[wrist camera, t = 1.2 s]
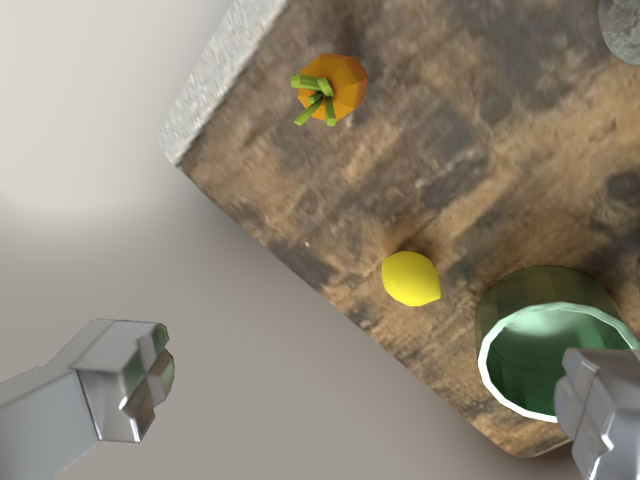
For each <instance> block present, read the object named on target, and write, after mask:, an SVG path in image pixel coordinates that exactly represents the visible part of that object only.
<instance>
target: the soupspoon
mask: <svg viewBox="0 0 640 480" xmlns="http://www.w3.org/2000/svg"><path fill="white" fill-rule="evenodd" d="M598 9H599V10H598V12H599V16H598V17H599V24H600V28H601V31H602V35H603V38H604V41H605V43H606V45H607V46H608V48H609V49H610V51H611V52H612V53H613V54H614V55H615V56H617V57H618V58H620V59H621V60H623V61H625V62H627V63H628V64H631V65H634V66H640V0H600V3H599V8H598Z"/></svg>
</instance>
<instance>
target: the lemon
mask: <svg viewBox="0 0 640 480" xmlns="http://www.w3.org/2000/svg"><path fill="white" fill-rule="evenodd" d="M382 280H383V284H384V287H385V290H386V291H387V292H388V293H389V294H390V295H391V296H392V297H393V298H394V299H396V300H398V301H399V302H402V303H404V304H406V305H408V306H421V305H424V304H426V303H429V302H431V301H434V300H437V299H439V298H440V297H441V289H440V280H439V275H438V273H437V271H436V269H435V267H434V266H433V264H432V262H431V261H430V260H429V259H428V258H426V257H424V256H423V255H421V254H418V253H415V252H409V251H401V252H398V253H395V254H393V255H391V256H389V257H387V258H385V259H384V260H383V263H382Z"/></svg>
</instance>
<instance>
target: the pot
mask: <svg viewBox="0 0 640 480" xmlns="http://www.w3.org/2000/svg"><path fill="white" fill-rule="evenodd" d="M475 337H476V352H477V363H478V367H479V370H480V374H481V377H482V381H483V384H484V385H485V386H486V387H487V388H488V390H489V391H490V392H491V393H492V394H493V395H494V396H495V398H496V399H497V400H498V401H499V402H500V403H501V404H503V405H505V406H507V407H509V408H510V409H512V410H514V411H516V412H518V413H520V414H521V415H523V416H526V417H531V418H536V419H540V420H545V421H549V422H557V419H556V415H555V411H554V392H555V387H556V382H557V381H558V380H559V379H561V378H562V377H563V376H565V375H566V372H565V370H564V368H563V366H562V364H561V363H562V360H563V356H564V353H565V351H566V350H567V349H568V347H578V348H596V349H615V350H625V349H638V350H640V342H639V340H638V339H637V337H636V335H635V334H634V332H633V330H632V329H631V327H630V325H629V323H628V322H627V320H626V318H625V317H624V315H623V313H622V312H621V310H620V308H619V307H618V305H617V303H616V302H615V301H614V300H613V298H612V297H611V296H610V294H609V293H608V291H607V290H606V289H605V288H604V287H603V285H601V284H600V283H598V282H597V281H596V280H595V279H593V278H591V277H590V276H588V275H586V274H584V273H582V272H579V271H576V270H573V269H570V268H565V267H559V266H536V267H530V268H525V269H521V270H518V271H516V272H513V273H511V274H509V275H507V276H505V277H503V278H502V279H500V280H498V281H497V282H496V283H495V284H494V285H492V286H491V287H490V288H489V289H488V291H487V292H486V293H485V294H484V296H483V297H482V299H481V301H480V303H479V305H478V308H477V312H476V320H475Z"/></svg>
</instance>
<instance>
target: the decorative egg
mask: <svg viewBox="0 0 640 480" xmlns="http://www.w3.org/2000/svg"><path fill="white" fill-rule="evenodd" d="M636 281H637V285H638V289H639V292H640V252H639V255H638V258H637V264H636Z"/></svg>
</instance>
